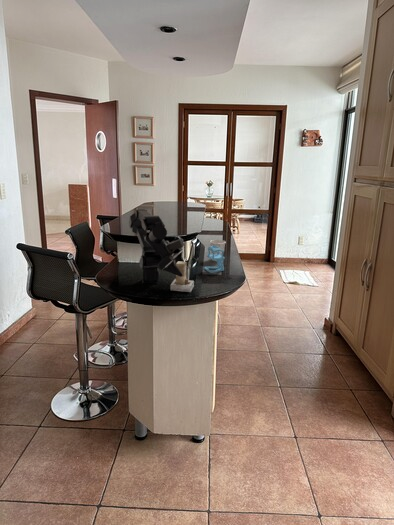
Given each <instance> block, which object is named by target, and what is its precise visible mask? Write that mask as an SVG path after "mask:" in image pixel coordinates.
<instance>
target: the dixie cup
mask: <svg viewBox="0 0 394 525" xmlns="http://www.w3.org/2000/svg"><path fill="white" fill-rule="evenodd" d="M226 243H227V242H226V240H222V239H212V240H210V241H209V247H210V246H216V247H218V248H220V249H222V250H225V245H226ZM214 254H217V252H215V253H214ZM219 254H220V255H221V254H222V252H221V251H219ZM210 255H213V252H212V251H210ZM211 261H212V262H213V261H214V262H216V260H211Z"/></svg>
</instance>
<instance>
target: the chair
mask: <svg viewBox="0 0 394 525" xmlns="http://www.w3.org/2000/svg"><path fill="white" fill-rule="evenodd" d="M207 250H208V251H207V252H208V253H207V254H206V257H207V258H209V259H210V260H211V261H212V260H216V261H215V262H216V263H217V265H218V266H204V270H205V271H206V272H208V273H209V274H215V273H218V272H222V271H224V272H225V267H224V260H226V257H225V256H224V253H225V249H224V250H222V249H220V248H218V247H216V246H210V245H209V246H208V247H207ZM211 251H212V252H213V255H211ZM219 251H221V252H222V254H221V255H220V254H219ZM215 252H217V254H214V253H215Z"/></svg>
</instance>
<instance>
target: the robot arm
mask: <svg viewBox="0 0 394 525" xmlns="http://www.w3.org/2000/svg"><path fill="white" fill-rule="evenodd" d="M162 220H163V219H162V218H160V216H159V215H154V214H153V215H152V214H151V213H150V212H148V210H147V209H145V208H143V209H142V208H141V209H140V208H139V209H138V208H137V209H136V210H135V211H134V213H132V214H131V215H130V216H129V220H128V226H129V227H128V228H130V230H131V232H132V233H133V234H135V235H137V238H138V241H139V244H140V247H141V255H140V258H139V267H140V269H141V271H142V282H141V283H142V284H158V283H159V281H160V271H162V270H163V271H165V272H168V273H169V274H170V273H171V274H172V275H175V276H176V275H177V276H180V277H182V276H183V274H182V273H181V271H180V270H179V269H178V267H177V266H176V263H177V262H178V261H182V262H185V260H184V258H183V253H184V252H183V247H184V246H185V242H184V239H183V238H182V237H180V236H176V237H174V240H172V241H171V242H170V241H169V240H165V238H166V237H167V235H168V230H167V229H166V227H165V226H166V225H165V223H164V222H163V221H162ZM188 269H189V268H188V266H187V265H186V271H187V270H188Z"/></svg>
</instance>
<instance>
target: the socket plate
mask: <svg viewBox="0 0 394 525" xmlns="http://www.w3.org/2000/svg"><path fill="white" fill-rule="evenodd" d="M194 287H195V281H194V280H190V279H188V284H186V285H180V284H176V278H174V279H173V281H172V282H171V284H170V291H176V292H186V293H191V292H192V290H193V289H194Z"/></svg>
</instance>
